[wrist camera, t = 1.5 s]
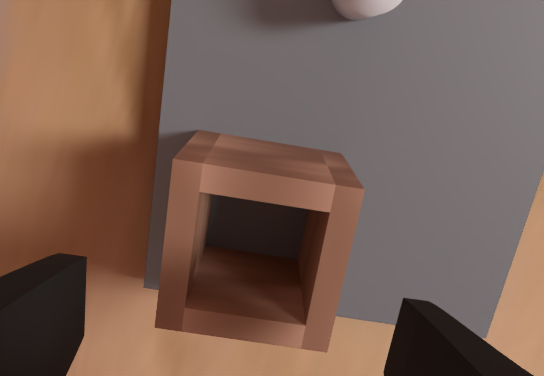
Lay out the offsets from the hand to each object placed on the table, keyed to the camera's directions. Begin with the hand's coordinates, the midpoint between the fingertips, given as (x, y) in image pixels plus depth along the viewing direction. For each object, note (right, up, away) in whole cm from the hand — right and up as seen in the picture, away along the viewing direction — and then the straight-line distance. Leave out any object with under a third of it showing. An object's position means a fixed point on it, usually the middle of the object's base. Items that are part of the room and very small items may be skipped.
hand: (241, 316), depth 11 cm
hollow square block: (0, +2, +7) cm, 7 cm away
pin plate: (+4, +6, +7) cm, 10 cm away
